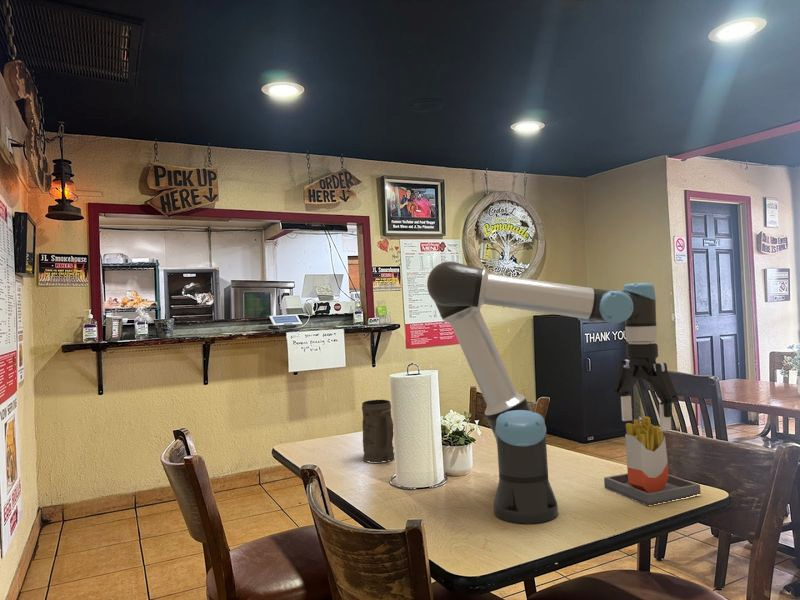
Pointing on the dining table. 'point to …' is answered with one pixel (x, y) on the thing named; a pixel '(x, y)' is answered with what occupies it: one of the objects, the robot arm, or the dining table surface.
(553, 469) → the dining table surface
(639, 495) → the serving tray
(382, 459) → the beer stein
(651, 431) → the french fries container
